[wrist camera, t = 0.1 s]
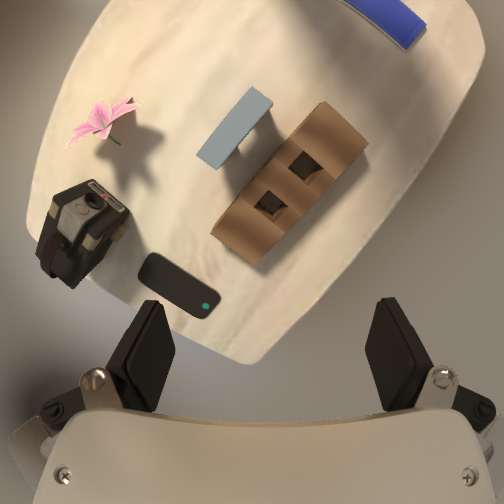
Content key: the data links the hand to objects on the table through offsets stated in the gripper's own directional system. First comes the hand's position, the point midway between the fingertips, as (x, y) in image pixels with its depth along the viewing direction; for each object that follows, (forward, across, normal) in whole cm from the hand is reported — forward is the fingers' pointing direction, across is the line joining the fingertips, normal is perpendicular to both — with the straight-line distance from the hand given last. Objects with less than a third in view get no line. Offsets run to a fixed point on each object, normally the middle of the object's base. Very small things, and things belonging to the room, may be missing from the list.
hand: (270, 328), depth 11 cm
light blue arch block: (+31, +4, -8) cm, 32 cm away
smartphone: (+32, +16, +18) cm, 40 cm away
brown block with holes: (+31, -2, 0) cm, 31 cm away
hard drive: (+32, -19, -29) cm, 47 cm away
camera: (+31, +30, +5) cm, 44 cm away
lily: (+31, +23, -12) cm, 41 cm away
